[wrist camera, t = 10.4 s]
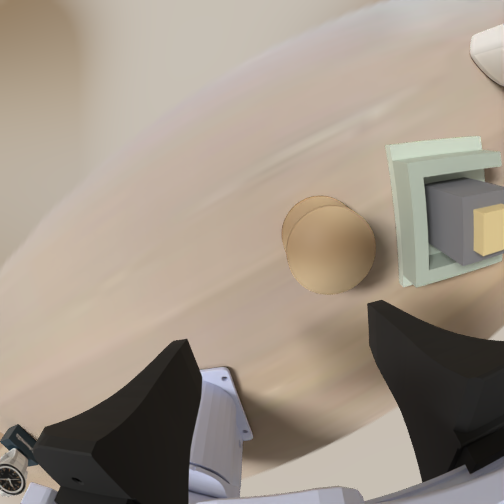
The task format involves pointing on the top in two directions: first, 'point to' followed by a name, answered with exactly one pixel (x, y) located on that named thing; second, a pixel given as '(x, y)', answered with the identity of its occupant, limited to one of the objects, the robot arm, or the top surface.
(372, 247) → the spool
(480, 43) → the eye dropper bottle
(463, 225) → the plug
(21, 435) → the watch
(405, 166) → the notched board
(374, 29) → the top surface
